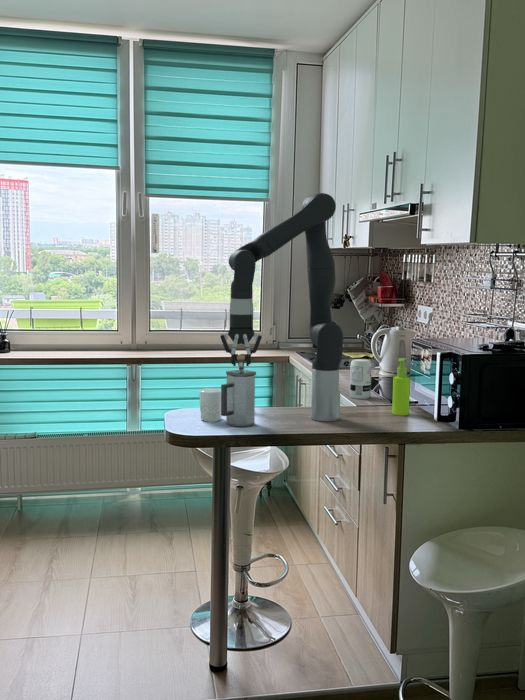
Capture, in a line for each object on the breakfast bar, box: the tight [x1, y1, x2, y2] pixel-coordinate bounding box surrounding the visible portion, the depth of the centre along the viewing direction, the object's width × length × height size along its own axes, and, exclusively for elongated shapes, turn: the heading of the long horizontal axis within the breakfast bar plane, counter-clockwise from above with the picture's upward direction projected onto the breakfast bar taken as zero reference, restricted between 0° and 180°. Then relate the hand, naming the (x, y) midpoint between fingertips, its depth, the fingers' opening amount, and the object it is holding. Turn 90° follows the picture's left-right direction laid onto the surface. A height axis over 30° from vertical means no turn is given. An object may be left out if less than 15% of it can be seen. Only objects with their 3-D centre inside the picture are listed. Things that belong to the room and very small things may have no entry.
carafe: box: [220, 369, 257, 429], centre depth 217 cm, size 14×9×18 cm
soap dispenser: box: [391, 357, 411, 417], centre depth 236 cm, size 6×7×20 cm
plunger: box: [235, 353, 247, 372], centre depth 217 cm, size 4×4×20 cm
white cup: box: [198, 387, 222, 422], centre depth 225 cm, size 8×8×10 cm
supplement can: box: [349, 358, 373, 400], centre depth 266 cm, size 8×8×15 cm
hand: (240, 365), depth 216 cm, fingers closed on plunger, 3 cm apart
